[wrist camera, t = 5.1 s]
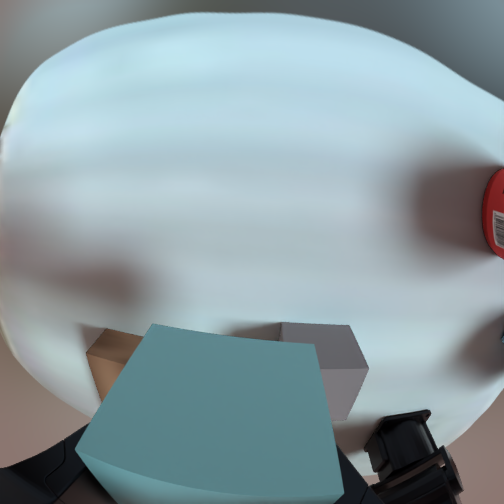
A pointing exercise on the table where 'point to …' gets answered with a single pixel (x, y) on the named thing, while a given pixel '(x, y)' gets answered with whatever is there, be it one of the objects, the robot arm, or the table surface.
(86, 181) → the table surface
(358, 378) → the gray cube
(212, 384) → the teal cube
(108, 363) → the walnut base block
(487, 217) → the canned food
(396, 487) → the robot arm
